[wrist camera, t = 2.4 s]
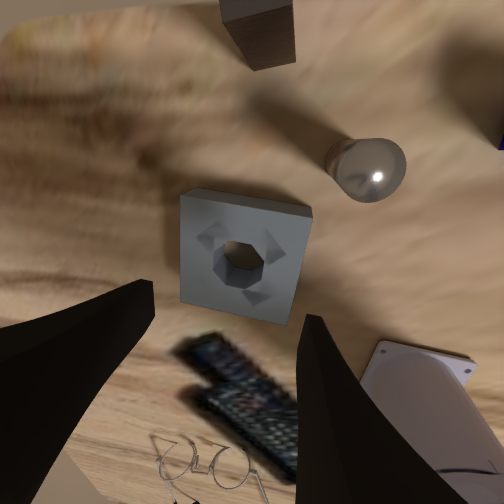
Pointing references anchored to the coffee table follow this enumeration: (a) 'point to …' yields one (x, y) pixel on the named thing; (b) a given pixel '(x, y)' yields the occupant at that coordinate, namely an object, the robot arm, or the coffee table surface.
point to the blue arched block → (502, 144)
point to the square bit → (261, 30)
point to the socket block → (245, 231)
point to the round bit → (366, 168)
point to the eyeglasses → (211, 467)
